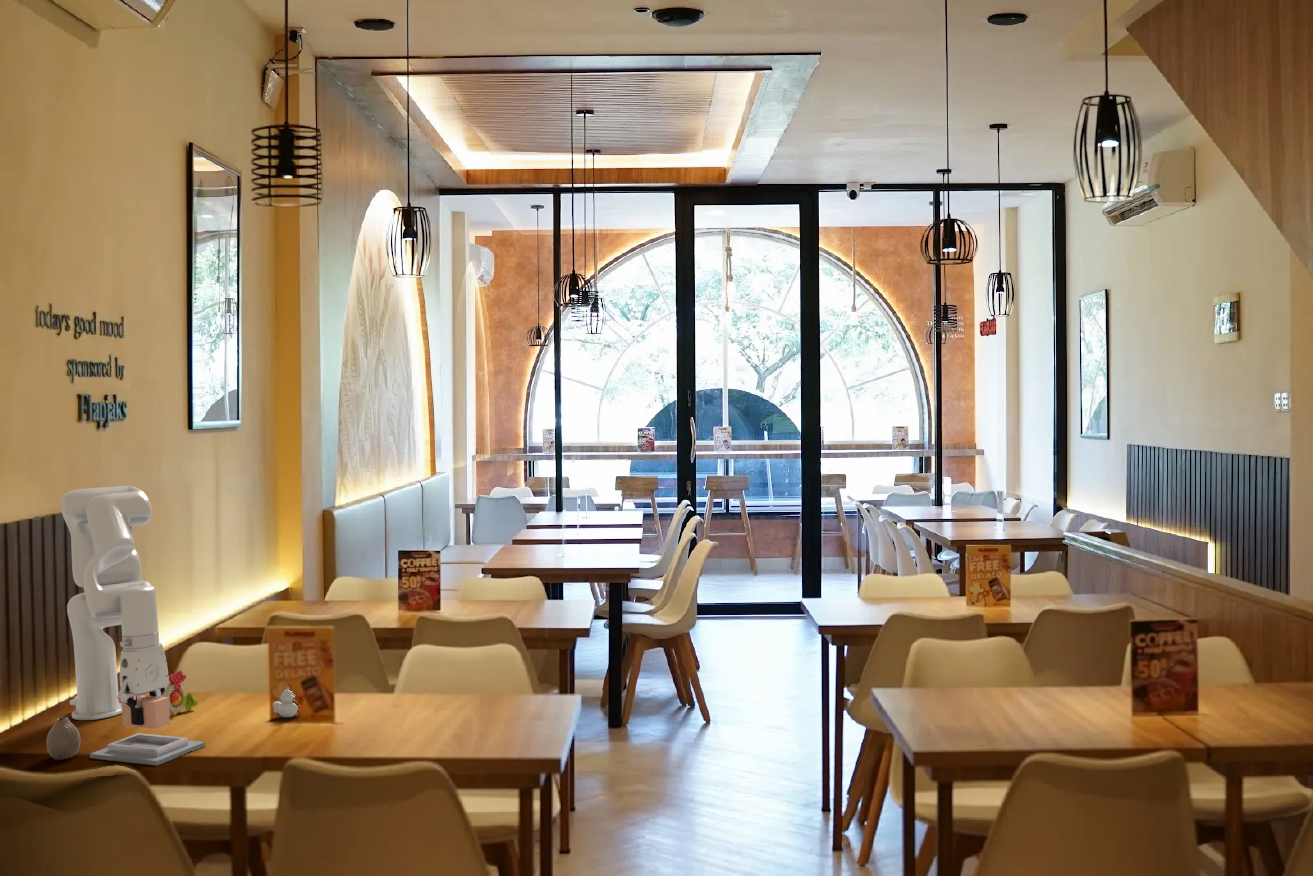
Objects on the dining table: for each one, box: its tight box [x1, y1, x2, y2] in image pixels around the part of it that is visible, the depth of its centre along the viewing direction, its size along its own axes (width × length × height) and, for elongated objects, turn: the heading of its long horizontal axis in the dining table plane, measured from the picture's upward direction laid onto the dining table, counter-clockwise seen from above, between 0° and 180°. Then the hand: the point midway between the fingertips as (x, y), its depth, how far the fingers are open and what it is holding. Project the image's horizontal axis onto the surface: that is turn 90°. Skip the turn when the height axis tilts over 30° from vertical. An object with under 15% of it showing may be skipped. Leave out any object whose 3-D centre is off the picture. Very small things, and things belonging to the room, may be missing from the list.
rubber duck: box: [272, 686, 298, 718], centre depth 290 cm, size 5×7×8 cm
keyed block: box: [120, 694, 171, 730], centre depth 265 cm, size 4×10×6 cm, turn 67°
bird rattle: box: [162, 670, 199, 717], centre depth 298 cm, size 6×11×9 cm
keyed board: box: [89, 732, 206, 766], centre depth 265 cm, size 20×14×2 cm
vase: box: [46, 716, 82, 761], centre depth 265 cm, size 7×7×9 cm
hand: (146, 720), depth 265 cm, fingers closed on keyed block, 4 cm apart
